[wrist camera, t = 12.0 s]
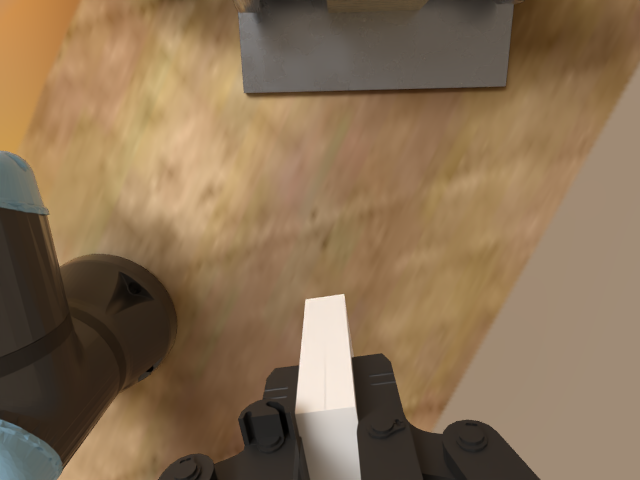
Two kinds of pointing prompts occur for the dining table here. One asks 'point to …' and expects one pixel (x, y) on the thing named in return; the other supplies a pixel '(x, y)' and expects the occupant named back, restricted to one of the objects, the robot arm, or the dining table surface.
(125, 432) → the dining table surface
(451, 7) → the valve body
